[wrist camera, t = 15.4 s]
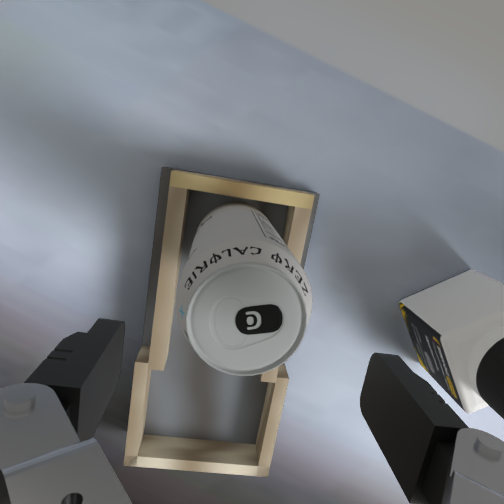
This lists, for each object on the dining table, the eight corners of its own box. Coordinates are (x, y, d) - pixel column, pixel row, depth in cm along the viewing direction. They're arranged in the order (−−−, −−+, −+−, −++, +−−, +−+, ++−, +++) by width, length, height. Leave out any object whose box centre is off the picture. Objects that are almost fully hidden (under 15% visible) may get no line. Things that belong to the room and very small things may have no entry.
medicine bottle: (396, 300, 33) (489, 378, 21) (471, 267, 33) (608, 327, 21) (419, 365, 35) (517, 470, 23) (491, 334, 35) (627, 424, 23)
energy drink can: (191, 204, 28) (159, 256, 14) (270, 197, 29) (319, 240, 14) (200, 280, 30) (180, 397, 15) (275, 272, 30) (325, 380, 16)
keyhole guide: (315, 192, 30) (328, 197, 27) (263, 444, 36) (267, 477, 32) (164, 166, 29) (156, 168, 25) (134, 433, 34) (123, 465, 31)
